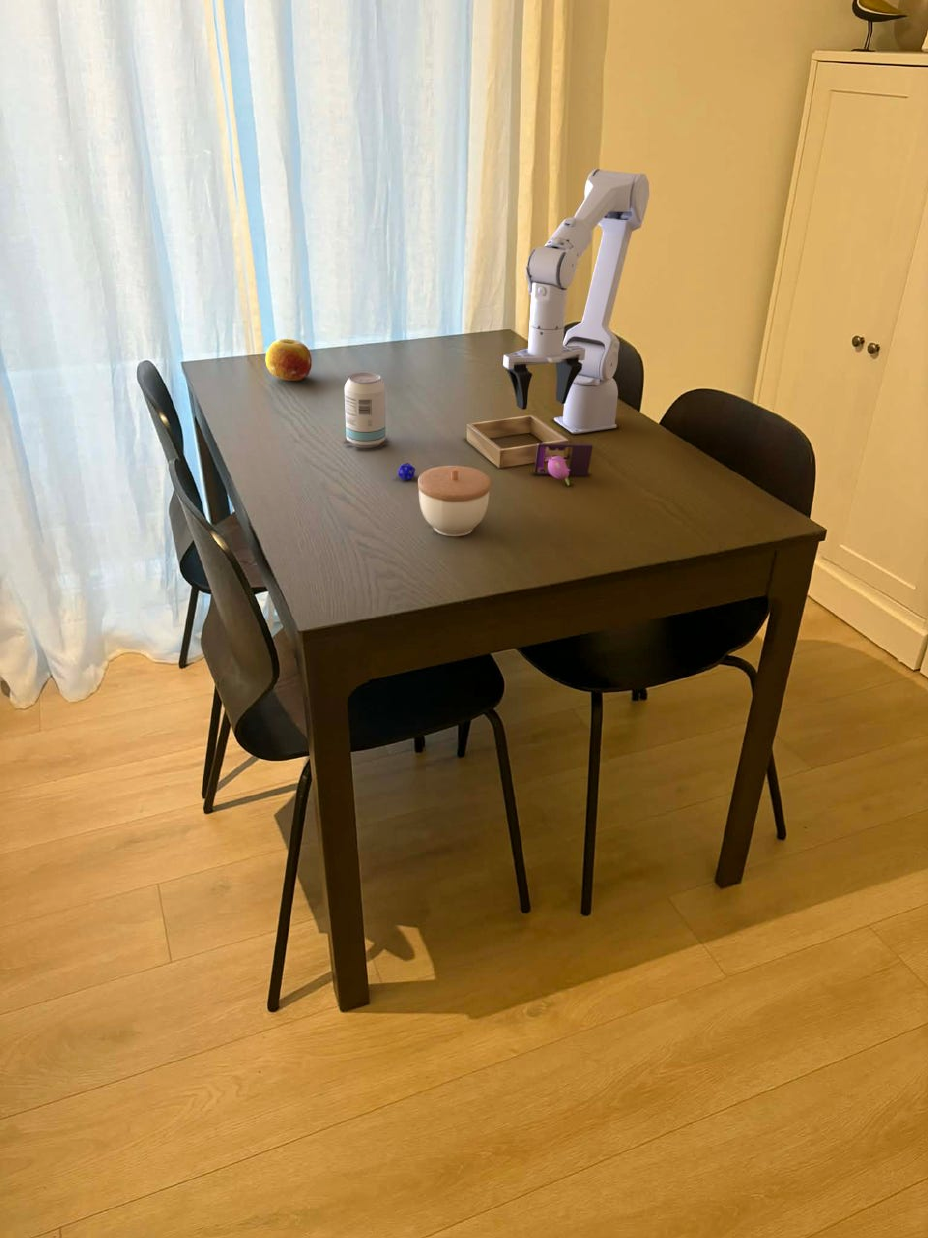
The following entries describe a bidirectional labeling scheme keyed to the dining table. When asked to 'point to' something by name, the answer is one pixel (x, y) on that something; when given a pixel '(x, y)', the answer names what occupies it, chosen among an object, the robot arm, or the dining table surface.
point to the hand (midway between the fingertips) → (541, 404)
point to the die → (406, 471)
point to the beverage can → (365, 409)
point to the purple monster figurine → (557, 463)
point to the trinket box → (453, 498)
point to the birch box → (512, 426)
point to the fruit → (288, 360)
